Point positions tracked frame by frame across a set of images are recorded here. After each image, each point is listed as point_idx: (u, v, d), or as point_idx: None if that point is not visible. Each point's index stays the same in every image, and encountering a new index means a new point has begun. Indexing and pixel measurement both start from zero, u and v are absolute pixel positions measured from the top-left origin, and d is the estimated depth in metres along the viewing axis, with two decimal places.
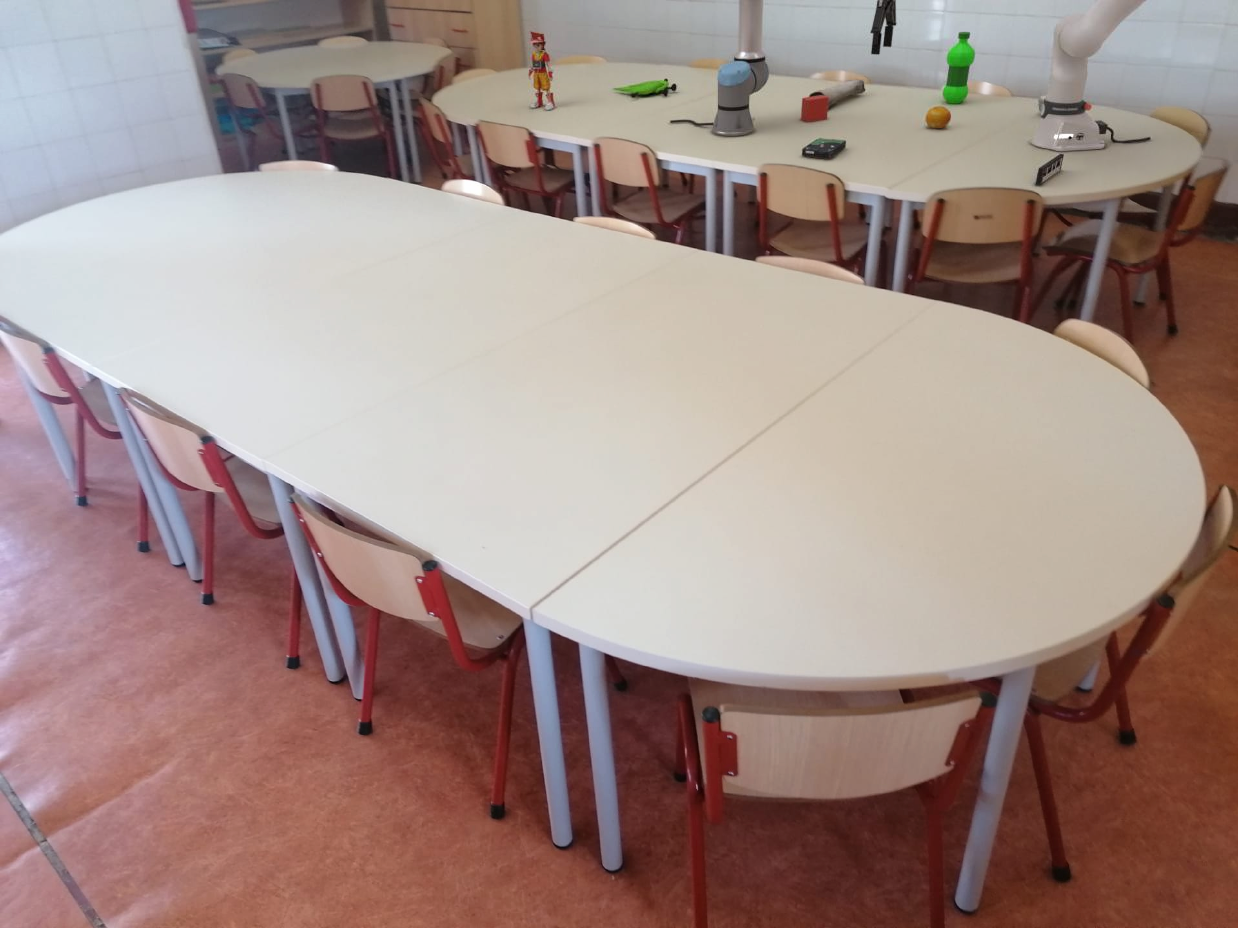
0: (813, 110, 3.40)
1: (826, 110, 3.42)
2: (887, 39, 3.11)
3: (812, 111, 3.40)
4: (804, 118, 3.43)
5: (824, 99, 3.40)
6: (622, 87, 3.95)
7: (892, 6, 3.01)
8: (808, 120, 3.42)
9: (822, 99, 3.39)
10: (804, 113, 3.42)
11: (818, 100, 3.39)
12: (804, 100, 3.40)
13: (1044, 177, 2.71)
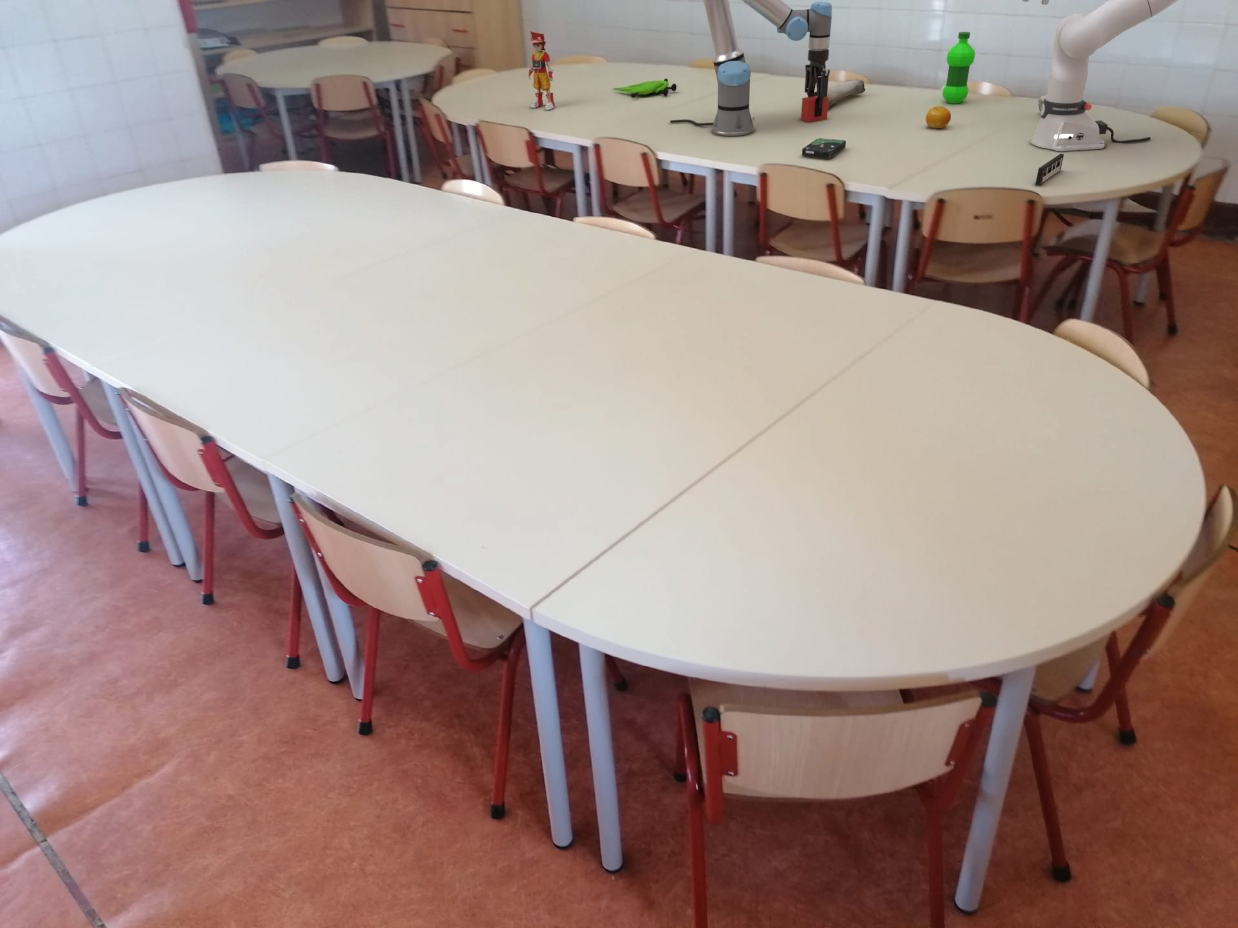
0: (813, 110, 3.40)
1: (826, 110, 3.42)
2: None
3: (812, 111, 3.40)
4: (804, 118, 3.43)
5: (824, 99, 3.40)
6: (622, 87, 3.95)
7: None
8: (808, 120, 3.42)
9: None
10: (804, 113, 3.42)
11: None
12: (804, 100, 3.40)
13: (1044, 177, 2.71)
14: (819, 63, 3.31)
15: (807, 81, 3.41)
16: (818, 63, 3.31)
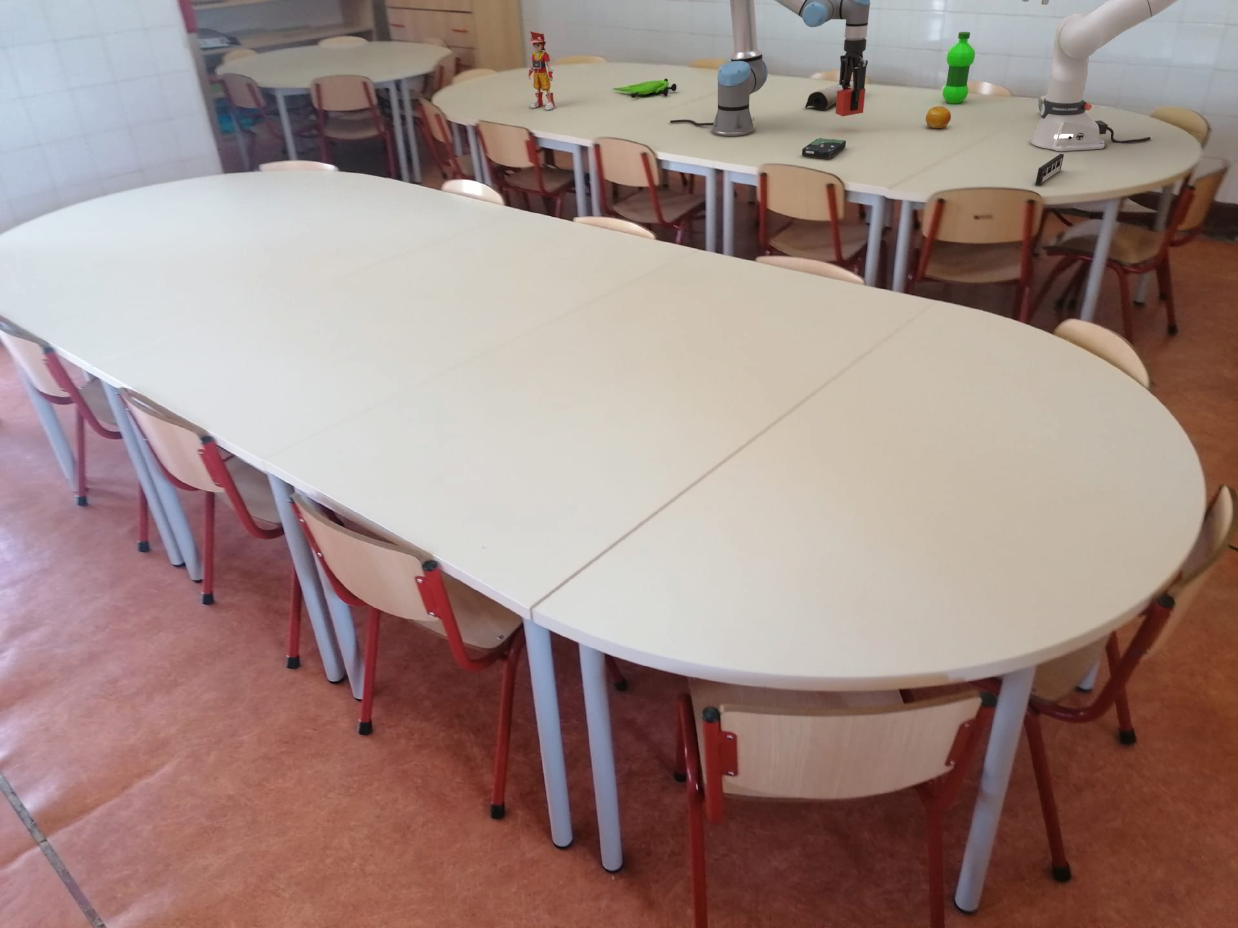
0: (849, 103, 3.21)
1: (862, 103, 3.23)
2: None
3: (847, 104, 3.21)
4: (839, 112, 3.24)
5: (860, 92, 3.21)
6: (622, 87, 3.95)
7: None
8: (844, 114, 3.23)
9: None
10: (839, 107, 3.23)
11: None
12: (839, 93, 3.21)
13: (1044, 177, 2.71)
14: (856, 53, 3.12)
15: (842, 73, 3.22)
16: (855, 53, 3.12)
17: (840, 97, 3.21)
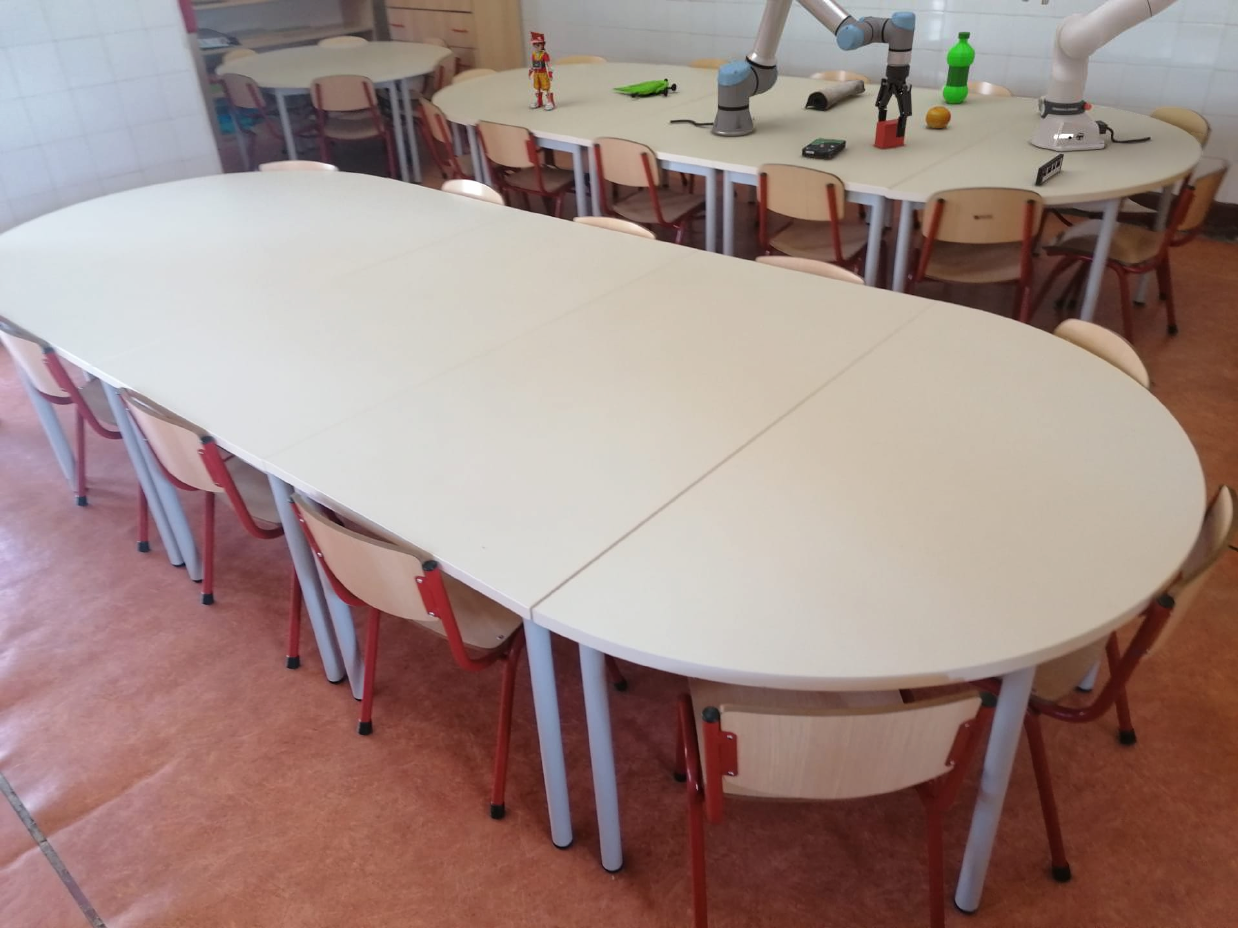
0: (889, 135, 3.07)
1: None
2: None
3: (888, 136, 3.07)
4: (878, 145, 3.10)
5: None
6: (622, 87, 3.95)
7: None
8: (883, 147, 3.08)
9: None
10: (879, 139, 3.09)
11: (895, 125, 3.05)
12: (879, 125, 3.07)
13: (1044, 177, 2.71)
14: (899, 80, 2.96)
15: (880, 96, 3.08)
16: (898, 79, 2.97)
17: (880, 129, 3.07)
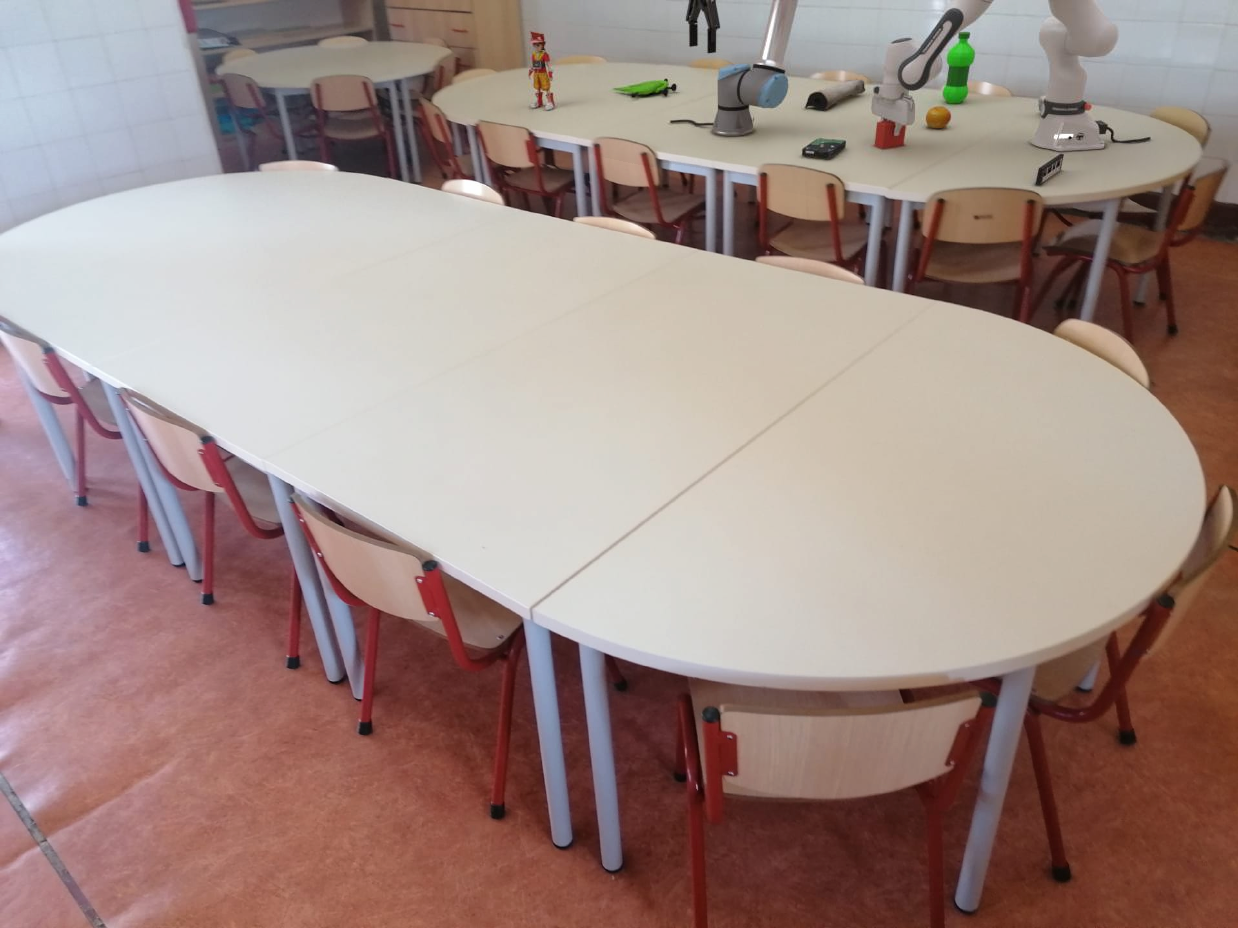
0: (889, 135, 3.07)
1: (903, 135, 3.09)
2: (693, 38, 2.94)
3: (888, 136, 3.07)
4: (878, 145, 3.10)
5: None
6: (622, 87, 3.95)
7: None
8: (883, 147, 3.08)
9: None
10: (879, 139, 3.09)
11: None
12: (879, 124, 3.06)
13: (1044, 177, 2.71)
14: None
15: (689, 10, 2.90)
16: None
17: (880, 129, 3.07)
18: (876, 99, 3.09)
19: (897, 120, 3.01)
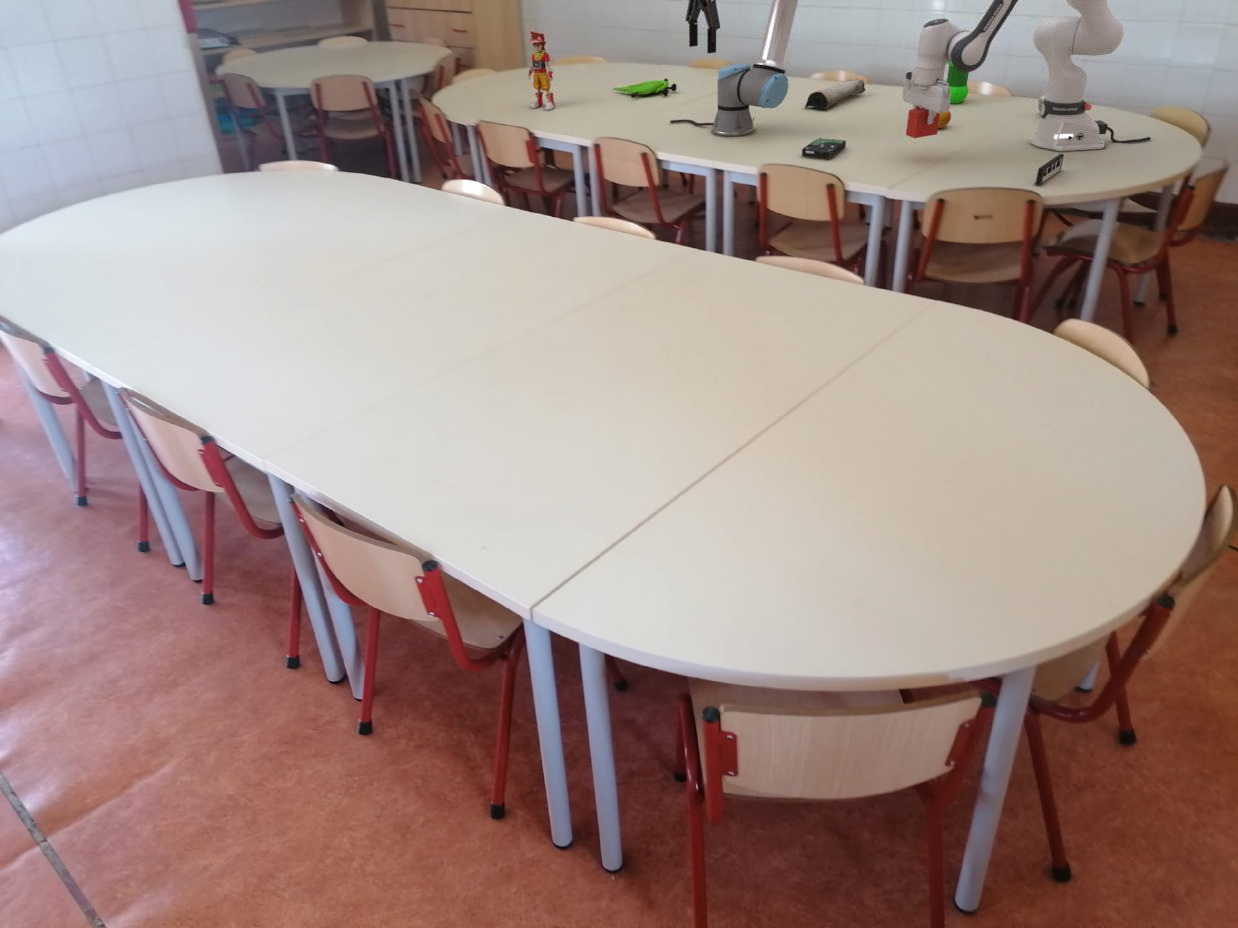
0: (922, 124, 2.89)
1: (937, 124, 2.91)
2: (693, 38, 2.94)
3: (920, 125, 2.89)
4: (910, 134, 2.92)
5: None
6: (622, 87, 3.95)
7: None
8: (916, 136, 2.90)
9: None
10: (911, 128, 2.91)
11: (928, 112, 2.87)
12: (912, 112, 2.88)
13: (1044, 177, 2.71)
14: None
15: (689, 10, 2.90)
16: None
17: (912, 117, 2.89)
18: (908, 85, 2.91)
19: (931, 108, 2.83)
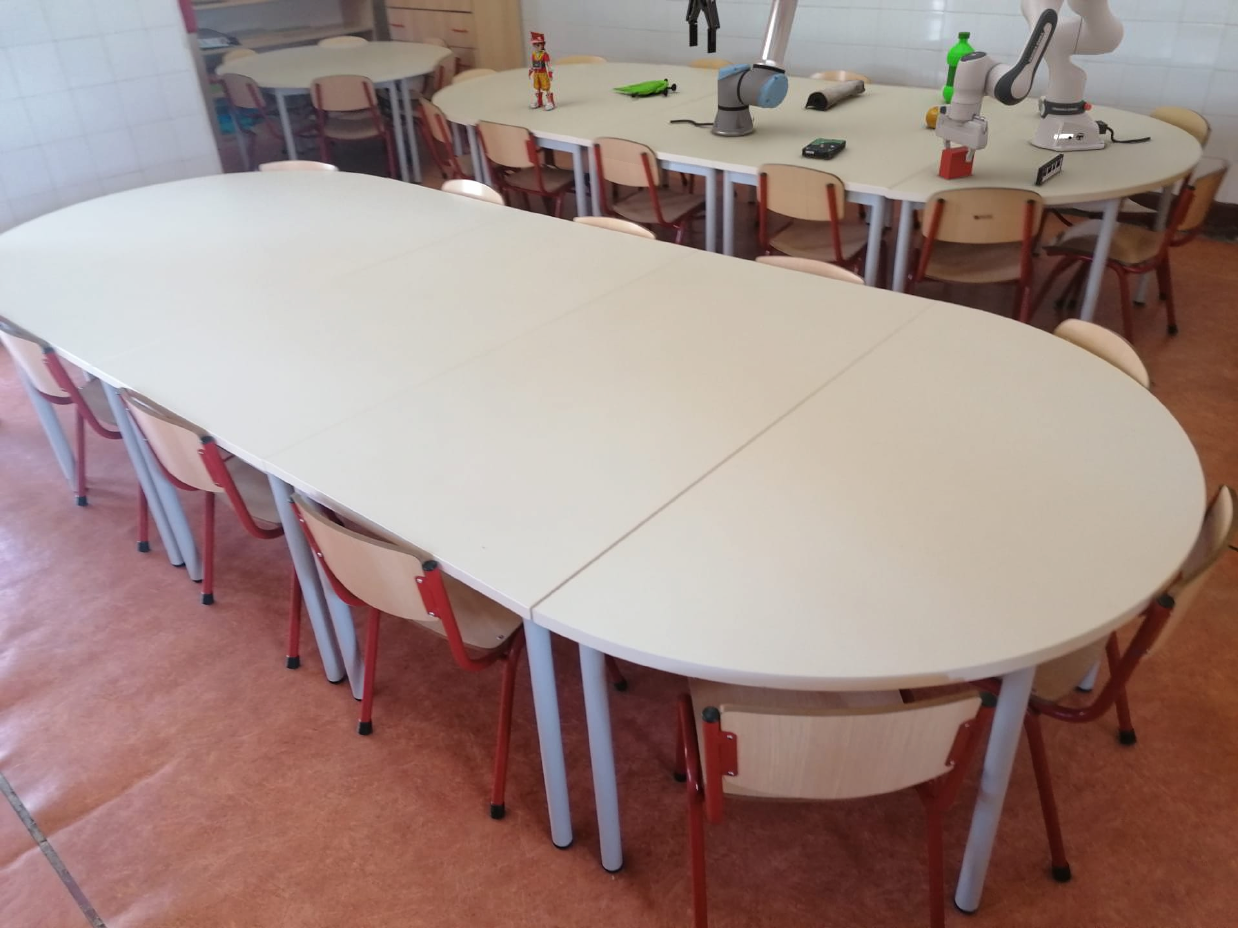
0: (956, 165, 2.77)
1: (971, 164, 2.79)
2: (693, 38, 2.94)
3: (954, 166, 2.77)
4: (943, 175, 2.80)
5: None
6: (622, 87, 3.95)
7: None
8: (949, 177, 2.78)
9: None
10: (944, 168, 2.79)
11: (963, 153, 2.75)
12: (945, 153, 2.77)
13: (1044, 177, 2.71)
14: None
15: (689, 10, 2.90)
16: None
17: (946, 157, 2.77)
18: (942, 120, 2.78)
19: (967, 144, 2.70)
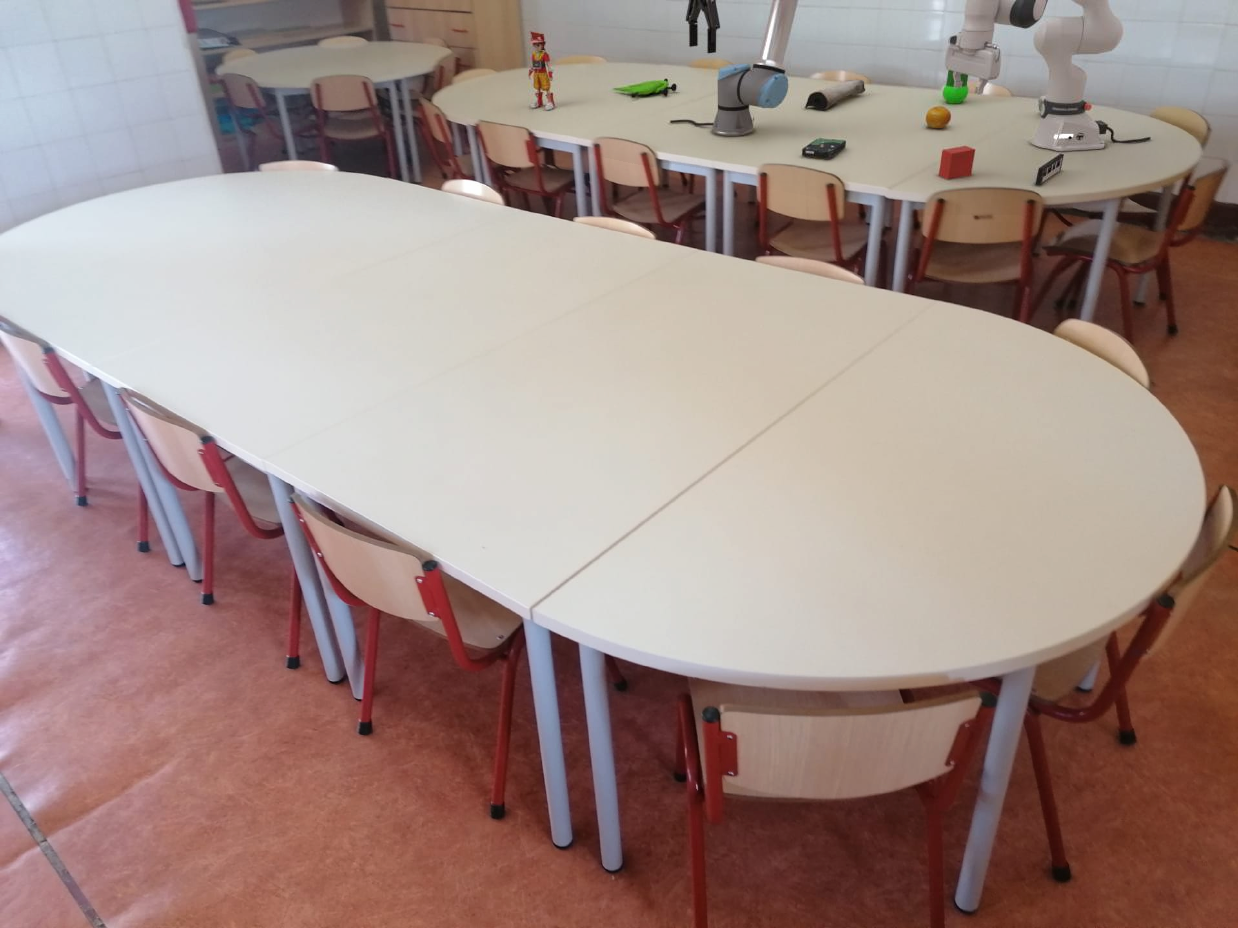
0: (956, 165, 2.77)
1: (971, 164, 2.79)
2: (693, 38, 2.94)
3: (954, 166, 2.77)
4: (943, 175, 2.80)
5: (970, 152, 2.76)
6: (622, 87, 3.95)
7: None
8: (949, 177, 2.78)
9: (968, 152, 2.76)
10: (944, 168, 2.79)
11: (963, 153, 2.75)
12: (945, 153, 2.77)
13: (1044, 177, 2.71)
14: None
15: (689, 10, 2.90)
16: None
17: (946, 157, 2.77)
18: (952, 51, 2.67)
19: (979, 74, 2.59)
